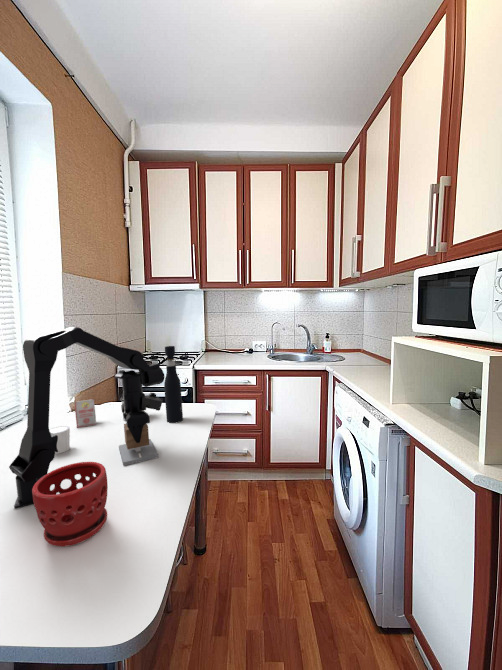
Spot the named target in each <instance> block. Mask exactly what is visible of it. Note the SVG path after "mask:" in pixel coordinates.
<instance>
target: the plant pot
mask: <svg viewBox="0 0 502 670" xmlns="http://www.w3.org/2000/svg"><path fill="white" fill-rule="evenodd" d="M94 474H95V476H94ZM77 475H80V478H79V479H77V478H75V477H76V476H77ZM87 477H88V478H89V479H86V478H87ZM65 480H69V481H70V483H71V484H70V485H69V487H67V488H62V482H64V481H65ZM78 484H82V486H81V487H79V488H78V486H77V485H78ZM52 486H54V487H53V489H52V490H51V487H52ZM108 487H109V486H108V475H107V471H106V467H105V465H103V464H102V463H100V462H95V461H81V462H75V463H74V462H73V463H71V464H66V465H63V466H61V467H58V468H56V469H54V470H52V471H50V472H48V473H47V474H46V475H44V476H43V477H42V478H40V479H39V480H38V481H37V482H36V483H35V484H34V486H33V488H32V495H33V502H34V503H33V505H34V509H35V511H36V515H37V518H38V522H39V523H40V525H41V527H43V537H44V540H45V542H46V543H48V544H49V545H50V546H54V547H59V548H60V547H61V548H62V547H70V546H75V545H78V544H81V543H83V542H85V541H87V540H89V539H90V538H92V537H94V536H95V535H96V534H97V533H98V532H100V530H101V529H102V528H103V527H104V526H105V524H106V522H107V520H108V510H107V509H106V508H105V507H106V504H107V500H108V490H109V489H108ZM43 493H44V494H43Z"/></svg>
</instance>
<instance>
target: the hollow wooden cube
mask: <svg viewBox="0 0 502 670" xmlns="http://www.w3.org/2000/svg"><path fill="white" fill-rule="evenodd" d="M123 430H124V442H125V443H124V444H126V446H127V449H133V448H137V447H142V446H146V445H149V439H150V436H149V435H150V434H149V426H148V423H147V424H145V425H144V426H143V429H142V434H141V440H140V443H136V441H135V440H134V438H133V436H132V434H131V432H130V430H129V428H128V427H127V424H126V423H123Z"/></svg>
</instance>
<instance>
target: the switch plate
mask: <svg viewBox="0 0 502 670" xmlns="http://www.w3.org/2000/svg"><path fill="white" fill-rule="evenodd" d="M118 450H119V454H120V458H121V463H122V465H123V466H128V465H132V464H137V463H140V462H144V461H149V460H153V459H157V458H159V453H158V451H157V449H156V447H155V445H154V443H153V442H152V440H151V438H149V445H146V446H142V447H137V448H133V449H127V446H126V443H123V444H120V445H118Z"/></svg>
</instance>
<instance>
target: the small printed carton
mask: <svg viewBox="0 0 502 670" xmlns="http://www.w3.org/2000/svg"><path fill="white" fill-rule="evenodd" d="M74 408H75V409H74V413H75V422H76V424H75V425H76V428H82V427H90V426H95V425H96V424H97V417H96V416H97V415H96V407H95V399H94V398H93V399H86V400H78V401H74Z"/></svg>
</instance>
